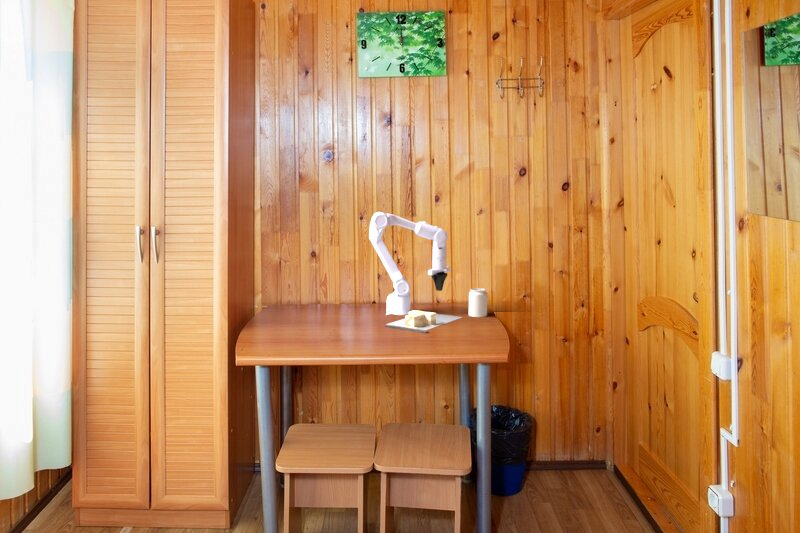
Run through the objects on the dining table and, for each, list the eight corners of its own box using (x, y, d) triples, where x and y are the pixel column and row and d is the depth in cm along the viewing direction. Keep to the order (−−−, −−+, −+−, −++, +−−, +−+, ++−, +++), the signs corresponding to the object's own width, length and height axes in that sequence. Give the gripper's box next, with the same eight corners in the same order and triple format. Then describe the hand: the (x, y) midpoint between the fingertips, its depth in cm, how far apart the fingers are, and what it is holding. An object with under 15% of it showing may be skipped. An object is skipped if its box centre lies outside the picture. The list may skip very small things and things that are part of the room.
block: (398, 325, 251) (398, 314, 251) (414, 320, 260) (414, 310, 260) (420, 328, 246) (420, 318, 245) (436, 323, 255) (436, 313, 254)
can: (474, 315, 275) (475, 286, 274) (490, 317, 271) (491, 288, 269) (464, 318, 269) (465, 289, 268) (480, 320, 265) (481, 291, 263)
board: (385, 327, 253) (385, 324, 253) (424, 314, 276) (424, 312, 276) (425, 333, 243) (425, 330, 243) (462, 320, 266) (462, 317, 266)
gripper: (438, 260, 264) (438, 293, 266) (456, 256, 276) (456, 288, 278) (423, 259, 268) (423, 292, 270) (442, 255, 280) (441, 287, 282)
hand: (439, 290), depth 274 cm, fingers closed
